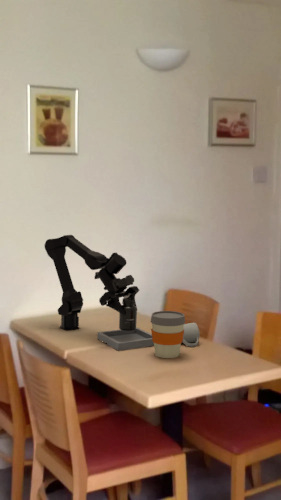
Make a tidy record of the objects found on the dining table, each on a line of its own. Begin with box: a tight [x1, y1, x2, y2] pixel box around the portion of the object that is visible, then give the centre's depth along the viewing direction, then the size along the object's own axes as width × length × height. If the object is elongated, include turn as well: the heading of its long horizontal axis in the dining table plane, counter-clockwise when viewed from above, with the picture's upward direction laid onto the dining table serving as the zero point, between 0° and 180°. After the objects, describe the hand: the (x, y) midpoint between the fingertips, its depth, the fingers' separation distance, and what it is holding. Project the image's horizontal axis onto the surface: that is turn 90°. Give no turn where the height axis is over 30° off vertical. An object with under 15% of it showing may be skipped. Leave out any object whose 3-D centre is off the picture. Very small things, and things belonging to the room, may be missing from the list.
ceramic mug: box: [181, 322, 201, 348], centre depth 250 cm, size 11×8×8 cm
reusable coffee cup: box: [150, 310, 186, 359], centre depth 234 cm, size 13×13×15 cm
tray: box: [96, 326, 154, 352], centre depth 251 cm, size 18×18×3 cm
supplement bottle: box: [118, 297, 138, 331], centre depth 249 cm, size 7×7×12 cm
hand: (130, 312), depth 248 cm, fingers closed on supplement bottle, 7 cm apart
